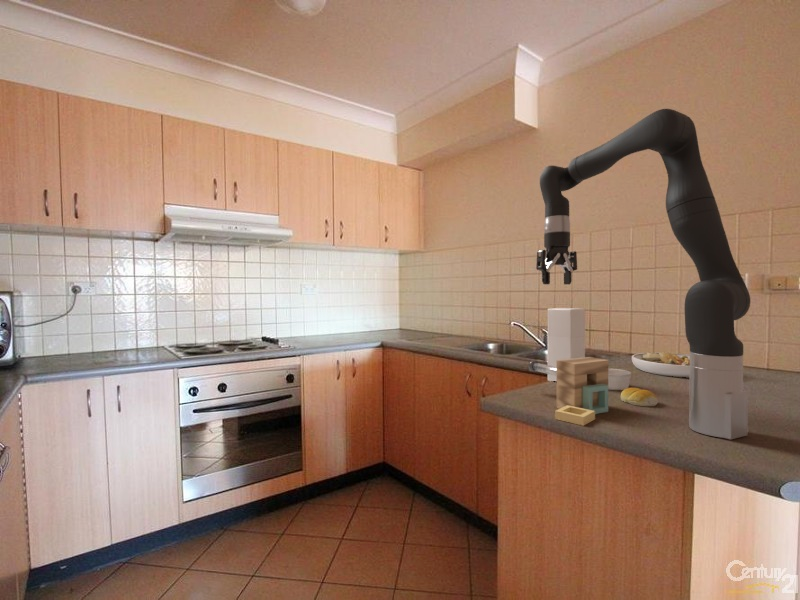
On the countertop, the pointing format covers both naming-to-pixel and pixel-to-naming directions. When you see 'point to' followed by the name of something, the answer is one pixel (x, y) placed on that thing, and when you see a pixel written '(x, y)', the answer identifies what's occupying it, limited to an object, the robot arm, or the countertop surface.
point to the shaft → (542, 368)
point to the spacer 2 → (602, 398)
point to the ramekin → (618, 379)
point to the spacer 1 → (575, 415)
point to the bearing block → (579, 379)
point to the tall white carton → (565, 335)
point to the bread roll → (639, 397)
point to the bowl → (663, 363)
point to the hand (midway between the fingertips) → (557, 284)
